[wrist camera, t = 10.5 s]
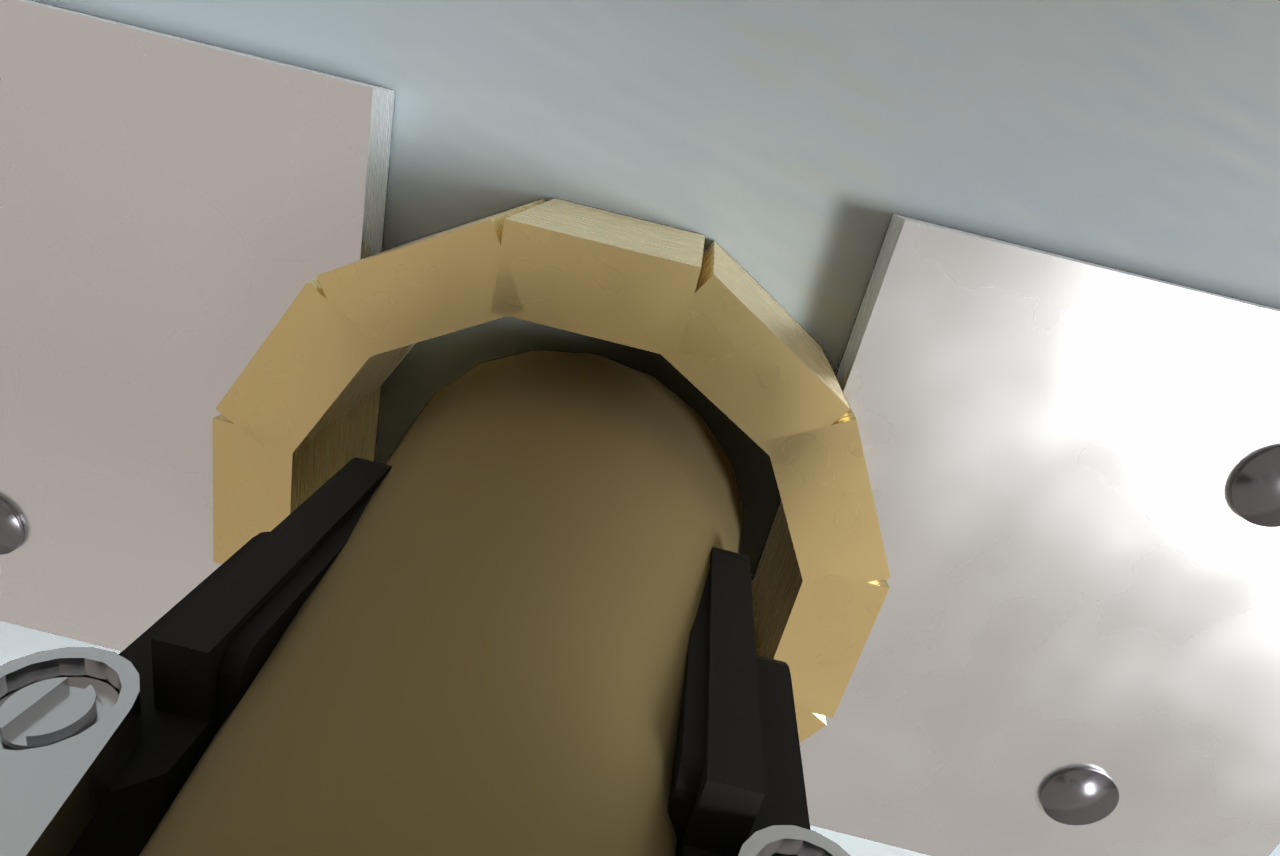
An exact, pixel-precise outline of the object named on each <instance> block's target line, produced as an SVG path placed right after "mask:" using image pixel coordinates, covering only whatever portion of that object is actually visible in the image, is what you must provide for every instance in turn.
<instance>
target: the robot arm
mask: <svg viewBox="0 0 1280 856" xmlns="http://www.w3.org/2000/svg"><path fill="white" fill-rule="evenodd" d="M391 468H392V466H390V465H386V464H382V463H378V462H374V461H370V460H366V459H362V458H357V457H355V458H353V459H351V460H350V461H349V462H348V463H347V464H346V465H345V466H343V467H342V468H341V469H340V470H339V471H338V472H337V473H336V474H334V475H333V476H332V477H331V478H330V479H329V480H328V481H327V482H325V483H324V484H323V485H322V486H321V487H320V488H319V489H318V490H317V491H315V492H314V493H313V494H312V495H311V496H310V497H309V498H308V499H306V500H305V501H304V502H303V503H302V504H301V505H300V506H299V507H298V508H296V509H295V510H294V511H293V512H292V513H291V514H290V515H289V516H287V517H286V518H285V519H284V520H283V521H282V522H281V523H280V524H278V525H277V526H276V527H275V528H274V529H273V530H272V531H271V532H269V531H268V532H261V533H259V534H258V535H256V536H255V537H253V538H252V539H250V540H249V541H248V542H247V543H246V544H245V545H244V546H242V547H241V548H240V549H239V550H238V551H237V552H236V553H234V554H233V555H232V556H231V557H230V558H229V559H228V560H226V561H225V562H224V563H223V564H222V565H221V566H220V567H218V568H217V569H216V570H215V571H214V572H213V573H212V574H210V575H209V576H208V577H207V578H206V579H205V580H203V581H202V582H201V583H200V584H199V585H198V586H197V587H195V588H194V589H193V590H192V591H191V592H190V593H189V594H187V595H186V596H185V597H184V598H183V599H182V600H181V601H179V602H178V603H177V604H176V605H175V606H174V607H173V608H171V609H170V610H169V611H168V612H167V613H166V614H165V615H163V616H162V617H161V618H160V619H159V620H158V621H156V622H155V623H154V624H153V625H152V626H151V627H150V628H148V629H147V630H146V631H145V632H144V633H143V634H142V635H140V636H139V637H138V638H137V639H136V640H135V641H134V642H132V643H131V644H130V645H129V646H128V647H127V648H126V649H124V650H123V651H122V652H121V653H120V654H119V655H118V654H117V653H115V652H111V651H106V650H102V649H97V648H93V647H66V648H60V649H54V650H48V651H42V652H37V653H34V654H31V655H28V656H25V657H22V658H19V659H15V660H12V661H9V662H7V663H5V664H3V665H1V666H0V856H139V855H140V853H141V852H142V850H143V849H144V847H145V845H146V844H147V842H148V841H149V839H150V837H151V836H152V834H153V833H154V831H155V829H156V828H157V826H158V825H159V823H160V822H161V820H162V818H163V817H164V815H165V814H166V812H167V810H168V809H169V807H170V806H171V804H172V803H173V801H174V799H175V798H176V796H177V795H178V793H179V791H180V790H181V788H182V787H183V785H184V783H185V782H186V780H187V779H188V777H189V776H190V774H191V772H192V771H193V769H194V768H195V766H196V764H197V763H198V761H199V760H200V758H201V757H202V755H203V753H204V752H205V750H206V749H207V747H208V745H209V744H210V742H211V741H212V739H213V738H214V736H215V734H216V733H217V731H218V730H219V728H220V727H221V726H222V724H223V723H224V722H225V720H226V719H227V718H228V716H229V715H230V714H231V712H232V711H233V710H234V708H235V707H236V706H237V704H238V703H239V702H240V700H241V699H242V697H243V696H244V694H245V693H246V691H247V689H248V688H249V686H250V685H251V683H252V682H253V680H254V679H255V677H256V676H257V674H258V672H259V671H260V669H261V668H262V666H263V665H264V663H265V662H266V660H267V659H268V657H269V655H270V654H271V652H272V651H273V649H274V648H275V646H276V645H277V643H278V642H279V640H280V638H281V637H282V635H283V634H284V632H285V631H286V629H287V628H288V626H289V625H290V623H291V621H292V620H293V618H294V617H295V615H296V614H297V612H298V611H299V609H300V608H301V606H302V604H303V603H304V602H305V600H306V599H307V597H308V596H309V595H310V593H311V592H312V590H313V589H314V588H315V586H316V585H317V584H318V582H319V581H320V579H321V578H322V577H323V575H324V574H325V572H326V571H327V570H328V568H329V567H330V565H331V564H332V563H333V561H334V560H335V558H336V557H337V556H338V554H339V553H340V551H341V550H342V549H343V547H344V546H345V544H346V543H347V541H348V539H349V537H350V536H351V534H352V532H353V530H354V528H355V526H356V524H357V522H358V521H359V519H360V517H361V515H362V513H363V511H364V509H365V507H366V506H367V504H368V502H369V500H370V498H371V496H372V494H373V492H374V491H375V489H376V487H377V486H378V485H379V484H380V483H381V481H382V480H383V479H384V477H385V476H386V475H387V473H388V472H389V470H390V469H391ZM668 813H669V816H670V819H671V822H672V825H673V828H674V831H675V834H676V837H677V849H676V856H850V855H849V854H848V853H847V852H846V851H845V850H844V849H842V848H841V847H840V846H839V845H838V844H837V843H835V842H833V841H831V840H830V839H828V838H826V837H824V836H823V835H821V834H819V833H817V832H815V831H812V830H810V822H809V814H808V806H807V798H806V791H805V783H804V775H803V767H802V759H801V751H800V743H799V735H798V728H797V720H796V712H795V704H794V696H793V688H792V680H791V673H790V669H789V666H788V664H787V663H786V662H783V661H779V660H775V659H771V658H767V657H763V656H759V655H756V645H755V630H754V615H753V599H752V584H751V569H750V558H749V556H747V555H743V554H739V553H735V552H731V551H728V550H724V549H720V548H716V547H712V551H711V561H710V570H709V573H708V577H707V580H706V583H705V587H704V590H703V594H702V597H701V600H700V604H699V607H698V610H697V614H696V617H695V620H694V623H693V626H692V628H691V631H690V636H689V646H688V654H687V662H686V670H685V678H684V686H683V694H682V702H681V710H680V718H679V726H678V734H677V742H676V750H675V758H674V766H673V774H672V781H671V789H670V797H669V805H668Z"/></svg>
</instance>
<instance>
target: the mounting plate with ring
mask: <svg viewBox="0 0 1280 856" xmlns="http://www.w3.org/2000/svg"><path fill="white" fill-rule="evenodd" d="M394 99H395V90H391V89H387V88H383V87H378V86H374V85H370V84H366V83H362V82H358V81H354V80H350V79H346V78H342V77H338V76H334V75H330V74H326V73H322V72H318V71H314V70H310V69H306V68H302V67H298V66H294V65H290V64H286V63H282V62H277V61H273V60H269V59H265V58H261V57H257V56H253V55H249V54H245V53H241V52H237V51H233V50H229V49H225V48H221V47H217V46H213V45H209V44H205V43H201V42H197V41H193V40H189V39H185V38H180V37H176V36H172V35H168V34H164V33H160V32H156V31H152V30H148V29H144V28H140V27H136V26H132V25H128V24H124V23H120V22H116V21H112V20H108V19H104V18H100V17H96V16H92V15H88V14H83V13H79V12H75V11H71V10H67V9H63V8H59V7H55V6H51V5H47V4H43V3H39V2H35V1H31V0H0V621H4V622H8V623H12V624H16V625H20V626H24V627H28V628H32V629H36V630H40V631H44V632H48V633H52V634H56V635H60V636H64V637H68V638H72V639H76V640H80V641H84V642H88V643H91V644H95V645H99V646H103V647H107V648H111V649H115V650H119V651H123V650H124V649H126V648H127V647H128V646H129V645H130V644H131V643H132V642H134V641H135V640H136V639H137V638H138V637H139V636H140V635H142V634H143V633H144V632H145V631H146V630H147V629H148V628H150V627H151V626H152V625H153V624H154V623H155V622H156V621H158V620H159V619H160V618H161V617H162V616H163V615H165V614H166V613H167V612H168V611H169V610H170V609H171V608H173V607H174V606H175V605H176V604H177V603H178V602H179V601H181V600H182V599H183V598H184V597H185V596H186V595H187V594H189V593H190V592H191V591H192V590H193V589H194V588H195V587H197V586H198V585H199V584H200V583H201V582H202V581H203V580H205V579H206V578H207V577H208V576H209V575H210V574H212V573H213V572H214V571H215V570H216V569H217V568H218V567H220V566H221V565H222V564H223V563H224V562H225V561H226V560H228V559H229V558H230V557H231V556H232V555H233V554H234V553H236V552H237V551H238V550H239V549H240V548H241V547H242V546H244V545H245V544H246V543H247V542H248V541H249V540H250V539H252V538H253V537H255V536H256V535H258V534H259V533H261V532H268V531H269V532H271V531H272V530H273V529H274V528H275V527H276V526H277V525H278V524H280V523H281V522H282V521H283V520H284V519H285V518H286V517H287V516H289V515H290V514H291V513H292V512H293V511H294V510H295V509H296V508H298V507H299V506H300V505H301V504H302V503H303V502H304V501H305V500H306V499H308V498H309V497H310V496H311V495H312V494H313V493H314V492H315V491H317V490H318V489H319V488H320V487H321V486H322V485H323V484H324V483H325V482H327V481H328V480H329V479H330V478H331V477H332V476H333V475H334V474H336V473H337V472H338V471H339V470H340V469H341V468H342V467H343V466H345V465H346V464H347V463H348V462H349V461H350V460H351V459H353V458H355V457H357V458H362V459H366V460H370V461H374V457H375V446H376V435H377V424H378V413H379V402H380V391H381V386H382V384H383V383H384V382H385V381H386V380H387V378H388V377H389V376H390V375H391V374H392V372H393V371H394V370H395V369H396V367H397V366H398V365H399V364H400V363H401V361H402V360H403V359H404V358H405V357H406V355H407V354H408V353H409V352H410V351H411V349H412V348H413V347H414V346H415V344H416V343H418V342H421V341H425V340H428V339H432V338H435V337H438V336H442V335H445V334H449V333H452V332H455V331H459V330H462V329H466V328H469V327H473V326H476V325H479V324H483V323H486V322H490V321H493V320H496V319H500V318H503V317H507V316H509V317H513V318H518V319H522V320H526V321H530V322H534V323H538V324H542V325H546V326H550V327H554V328H558V329H562V330H566V331H570V332H574V333H578V334H582V335H586V336H590V337H594V338H598V339H602V340H606V341H610V342H614V343H618V344H622V345H626V346H630V347H634V348H638V349H642V350H646V351H650V352H654V353H658V354H661V355H662V356H663V357H664V358H665V359H666V360H667V361H668V362H669V363H670V364H672V365H673V366H674V367H675V368H676V369H677V370H678V371H679V372H680V373H681V374H682V375H683V376H684V377H685V378H687V379H688V380H689V381H690V382H691V383H692V384H693V385H694V386H695V387H696V388H697V389H698V390H699V391H700V392H702V393H703V394H704V395H705V396H706V397H707V398H708V399H709V400H710V401H711V402H712V403H713V404H714V405H715V406H717V407H718V408H719V409H720V410H721V411H722V412H723V413H724V414H725V415H726V416H727V417H728V418H729V419H730V420H732V421H733V422H734V423H735V424H736V425H737V426H738V427H739V428H740V429H741V430H742V431H743V432H744V433H745V434H747V435H748V436H749V437H750V438H751V439H752V440H753V441H754V442H755V443H756V444H757V445H758V446H759V447H760V448H762V449H763V450H764V451H765V452H766V453H767V454H768V455H769V456H770V459H771V463H772V466H773V470H774V474H775V478H776V482H777V485H778V489H779V493H780V497H781V501H780V504H779V507H778V510H777V513H776V516H775V519H774V521H773V524H772V527H771V530H770V533H769V536H768V539H767V542H766V545H765V548H764V550H763V553H762V556H761V559H760V562H759V565H758V568H757V571H756V574H755V576H754V579H753V580H751V584H752V599H753V615H754V630H755V645H756V655H759V656H763V657H767V658H771V659H775V660H779V661H783V662H786V663H787V664H788V666H789V669H790V673H791V680H792V688H793V696H794V704H795V712H796V720H797V728H798V735H799V743H800V751H801V759H802V767H803V775H804V783H805V791H806V798H807V806H808V814H809V822H810V825H812V826H816V827H820V828H824V829H828V830H832V831H836V832H840V833H844V834H848V835H852V836H856V837H860V838H864V839H868V840H872V841H876V842H880V843H884V844H888V845H892V846H896V847H900V848H904V849H907V850H911V851H915V852H919V853H923V854H927V855H931V856H1269V855H1270V854H1271V852H1272V851H1273V850H1274V849H1275V848H1276V846H1277V845H1278V844H1279V843H1280V309H1276V308H1272V307H1268V306H1264V305H1260V304H1256V303H1251V302H1247V301H1243V300H1239V299H1235V298H1231V297H1227V296H1223V295H1219V294H1215V293H1211V292H1207V291H1203V290H1199V289H1195V288H1191V287H1187V286H1183V285H1179V284H1175V283H1171V282H1167V281H1163V280H1159V279H1154V278H1150V277H1146V276H1142V275H1138V274H1134V273H1130V272H1126V271H1122V270H1118V269H1114V268H1110V267H1106V266H1102V265H1098V264H1094V263H1090V262H1086V261H1082V260H1078V259H1074V258H1070V257H1066V256H1062V255H1057V254H1053V253H1049V252H1045V251H1041V250H1037V249H1033V248H1029V247H1025V246H1021V245H1017V244H1013V243H1009V242H1005V241H1001V240H997V239H993V238H989V237H985V236H981V235H977V234H973V233H969V232H965V231H960V230H956V229H952V228H948V227H944V226H940V225H936V224H932V223H928V222H924V221H920V220H916V219H912V218H908V217H904V216H900V215H896V214H893V216H892V219H891V222H890V225H889V228H888V231H887V233H886V236H885V239H884V242H883V245H882V248H881V250H880V253H879V256H878V259H877V262H876V265H875V267H874V270H873V273H872V276H871V279H870V282H869V284H868V287H867V290H866V293H865V296H864V299H863V301H862V304H861V307H860V310H859V313H858V316H857V318H856V321H855V324H854V327H853V330H852V333H851V335H850V338H849V341H848V344H847V347H846V350H845V352H844V355H843V358H842V361H841V364H840V367H839V369H838V372H837V375H836V376H835V374H834V372H833V370H832V367H831V365H830V363H829V361H828V359H827V357H826V355H825V354H824V352H823V350H822V348H821V346H820V345H819V344H818V343H817V342H816V341H815V340H814V339H813V338H812V337H811V336H810V335H809V334H808V333H807V332H806V331H805V330H804V329H803V328H802V327H801V326H800V325H799V324H798V323H797V322H796V321H795V320H794V319H793V318H792V317H791V316H790V315H789V314H788V313H787V312H786V311H785V310H784V309H783V308H782V307H781V306H780V305H779V304H778V303H777V302H776V301H775V300H774V299H773V298H772V297H771V296H770V295H769V294H768V293H767V292H766V291H765V290H764V289H763V288H762V287H761V286H760V285H759V284H758V283H757V282H756V281H755V280H754V279H753V278H752V277H751V276H750V275H749V274H748V273H747V272H746V271H745V270H744V269H743V268H742V267H741V266H740V265H739V264H738V263H737V262H736V261H735V260H734V259H733V258H732V257H731V256H730V255H729V254H728V253H727V252H726V251H725V250H723V249H722V248H721V247H720V246H719V245H718V244H717V243H716V242H715V241H714V242H713V243H712V244H711V245H710V246H709V247H708V248H707V249H706V250H705V251H704V252H703V249H704V241H705V235H701V234H697V233H693V232H689V231H685V230H681V229H677V228H673V227H669V226H665V225H661V224H657V223H653V222H649V221H645V220H641V219H637V218H633V217H629V216H625V215H621V214H617V213H613V212H609V211H605V210H601V209H597V208H593V207H589V206H584V205H580V204H576V203H572V202H568V201H564V200H560V199H556V198H554V199H551V200H549V201H546V202H545V199H541V200H538V201H535V202H532V203H529V204H525V205H522V206H519V207H516V208H513V209H510V210H507V211H504V212H501V213H498V214H495V215H492V216H488V217H485V218H482V219H479V220H476V221H473V222H470V223H467V224H464V225H461V226H458V227H455V228H452V229H448V230H445V231H442V232H439V233H436V234H433V235H430V236H427V237H424V238H421V239H418V240H415V241H411V242H408V243H405V244H403V245H400V246H397V247H394V248H392V249H389V250H386V251H383V252H382V240H383V229H384V217H385V205H386V193H387V181H388V170H389V158H390V146H391V134H392V123H393V111H394Z"/></svg>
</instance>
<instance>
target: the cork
mask: <svg viewBox="0 0 1280 856" xmlns="http://www.w3.org/2000/svg"><path fill="white" fill-rule="evenodd" d="M386 465H390V466H392V468H391V469H390V470H389V472H388V473H387V475H386V476H385V477H384V479H383V480H382V481H381V483H380V484H379V485H378V486H377V487H376V489H375V491H374V492H373V494H372V496H371V498H370V500H369V502H368V504H367V506H366V507H365V509H364V511H363V513H362V515H361V517H360V519H359V521H358V522H357V524H356V526H355V528H354V530H353V532H352V534H351V536H350V537H349V539H348V541H347V543H346V544H345V546H344V547H343V549H342V550H341V551H340V553H339V554H338V556H337V557H336V558H335V560H334V561H333V563H332V564H331V565H330V567H329V568H328V570H327V571H326V572H325V574H324V575H323V577H322V578H321V579H320V581H319V582H318V584H317V585H316V586H315V588H314V589H313V590H312V592H311V593H310V595H309V596H308V597H307V599H306V600H305V602H304V603H303V604H302V606H301V608H300V609H299V611H298V612H297V614H296V615H295V617H294V618H293V620H292V621H291V623H290V625H289V626H288V628H287V629H286V631H285V632H284V634H283V635H282V637H281V638H280V640H279V642H278V643H277V645H276V646H275V648H274V649H273V651H272V652H271V654H270V655H269V657H268V659H267V660H266V662H265V663H264V665H263V666H262V668H261V669H260V671H259V672H258V674H257V676H256V677H255V679H254V680H253V682H252V683H251V685H250V686H249V688H248V689H247V691H246V693H245V694H244V696H243V697H242V699H241V700H240V702H239V703H238V704H237V706H236V707H235V708H234V710H233V711H232V712H231V714H230V715H229V716H228V718H227V719H226V720H225V722H224V723H223V724H222V726H221V727H220V728H219V730H218V731H217V733H216V734H215V736H214V738H213V739H212V741H211V742H210V744H209V745H208V747H207V749H206V750H205V752H204V753H203V755H202V757H201V758H200V760H199V761H198V763H197V764H196V766H195V768H194V769H193V771H192V772H191V774H190V776H189V777H188V779H187V780H186V782H185V783H184V785H183V787H182V788H181V790H180V791H179V793H178V795H177V796H176V798H175V799H174V801H173V803H172V804H171V806H170V807H169V809H168V810H167V812H166V814H165V815H164V817H163V818H162V820H161V822H160V823H159V825H158V826H157V828H156V829H155V831H154V833H153V834H152V836H151V837H150V839H149V841H148V842H147V844H146V845H145V847H144V849H143V850H142V852H141V853H140V855H139V856H676V849H677V837H676V834H675V831H674V828H673V825H672V822H671V819H670V816H669V813H668V805H669V797H670V789H671V781H672V774H673V766H674V758H675V750H676V742H677V734H678V726H679V718H680V710H681V702H682V694H683V686H684V678H685V670H686V662H687V654H688V646H689V636H690V631H691V628H692V626H693V623H694V620H695V617H696V614H697V610H698V607H699V604H700V600H701V597H702V594H703V590H704V587H705V583H706V580H707V577H708V573H709V570H710V561H711V551H712V547H716V548H720V549H724V550H728V551H731V552H735V553H740V545H741V536H742V527H743V518H744V510H743V506H742V502H741V498H740V494H739V490H738V486H737V482H736V478H735V474H734V470H733V466H732V462H731V460H730V459H729V457H728V456H727V454H726V453H725V451H724V450H723V448H722V447H721V445H720V444H719V442H718V441H717V439H716V438H715V436H714V434H713V433H712V431H711V430H710V428H709V427H708V425H707V424H706V422H705V421H704V419H703V418H702V416H701V415H700V414H699V413H698V412H697V411H695V410H694V409H693V408H692V407H690V406H689V405H688V404H687V403H685V402H684V401H683V400H682V399H680V398H679V397H678V396H677V395H675V394H674V393H673V392H672V391H670V390H669V389H668V388H667V387H665V386H664V385H663V384H662V383H660V382H659V381H658V380H657V379H655V378H654V377H652V376H650V375H647V374H645V373H642V372H640V371H637V370H634V369H632V368H629V367H627V366H624V365H622V364H619V363H617V362H614V361H612V360H609V359H606V358H604V357H601V356H599V355H596V354H583V353H569V352H556V351H542V350H534V351H530V352H526V353H522V354H518V355H513V356H509V357H505V358H501V359H497V360H493V361H489V362H485V363H481V364H479V365H477V366H476V367H474V368H473V369H471V370H469V371H468V372H466V373H465V374H463V375H462V376H460V377H459V378H457V379H456V380H454V381H453V382H451V383H450V384H448V385H447V386H445V387H443V388H442V389H440V390H439V391H437V392H436V393H434V395H433V396H432V398H431V399H430V400H429V402H428V403H427V404H426V406H425V407H424V409H423V410H422V411H421V413H420V414H419V415H418V417H417V418H416V419H415V421H414V422H413V424H412V425H411V426H410V428H409V429H408V430H407V432H406V433H405V435H404V436H403V438H402V439H401V441H400V443H399V444H398V446H397V447H396V449H395V451H394V452H393V454H392V455H391V457H390V458H389V460H388V462H387V463H386Z"/></svg>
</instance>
